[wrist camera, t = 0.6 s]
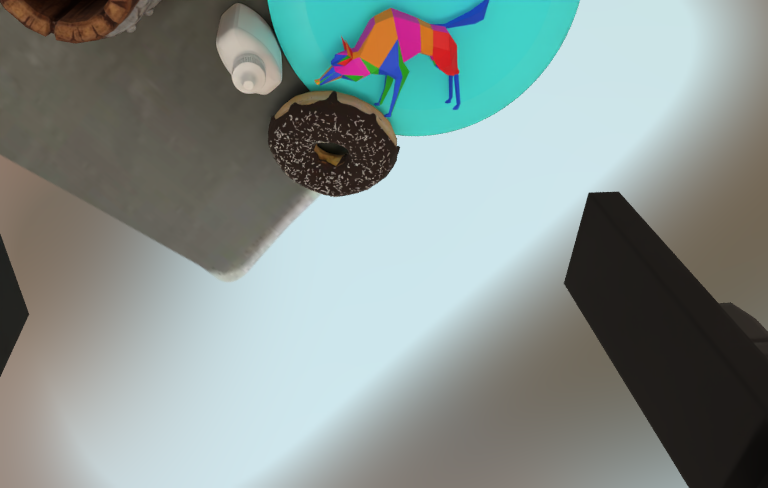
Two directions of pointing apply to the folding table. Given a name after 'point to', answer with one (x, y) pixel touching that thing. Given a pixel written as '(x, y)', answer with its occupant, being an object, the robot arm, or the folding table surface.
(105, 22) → the mug
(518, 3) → the frisbee
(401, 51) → the figurine
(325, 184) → the donut
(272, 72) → the eye dropper bottle
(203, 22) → the folding table surface
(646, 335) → the robot arm
